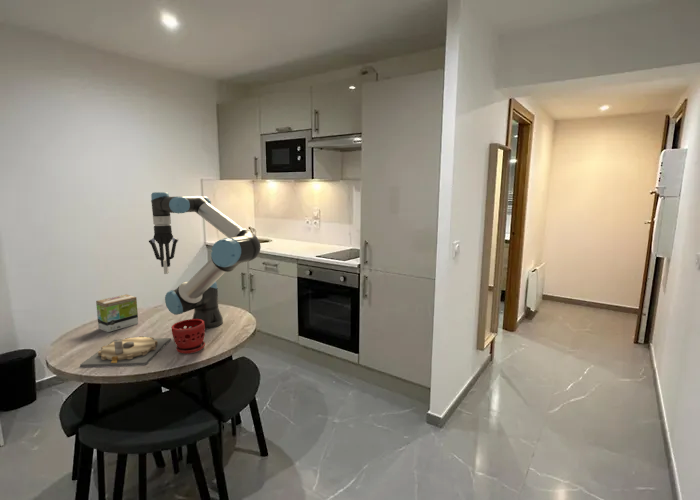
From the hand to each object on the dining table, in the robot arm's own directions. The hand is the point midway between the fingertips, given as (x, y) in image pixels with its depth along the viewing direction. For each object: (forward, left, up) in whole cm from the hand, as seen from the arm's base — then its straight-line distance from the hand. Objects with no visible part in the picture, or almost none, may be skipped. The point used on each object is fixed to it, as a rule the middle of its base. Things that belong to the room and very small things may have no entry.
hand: (166, 273), depth 185 cm
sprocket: (+7, +27, -27) cm, 39 cm away
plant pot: (-18, +26, -29) cm, 43 cm away
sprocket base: (+7, +27, -28) cm, 40 cm away
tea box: (+28, -6, -29) cm, 41 cm away
